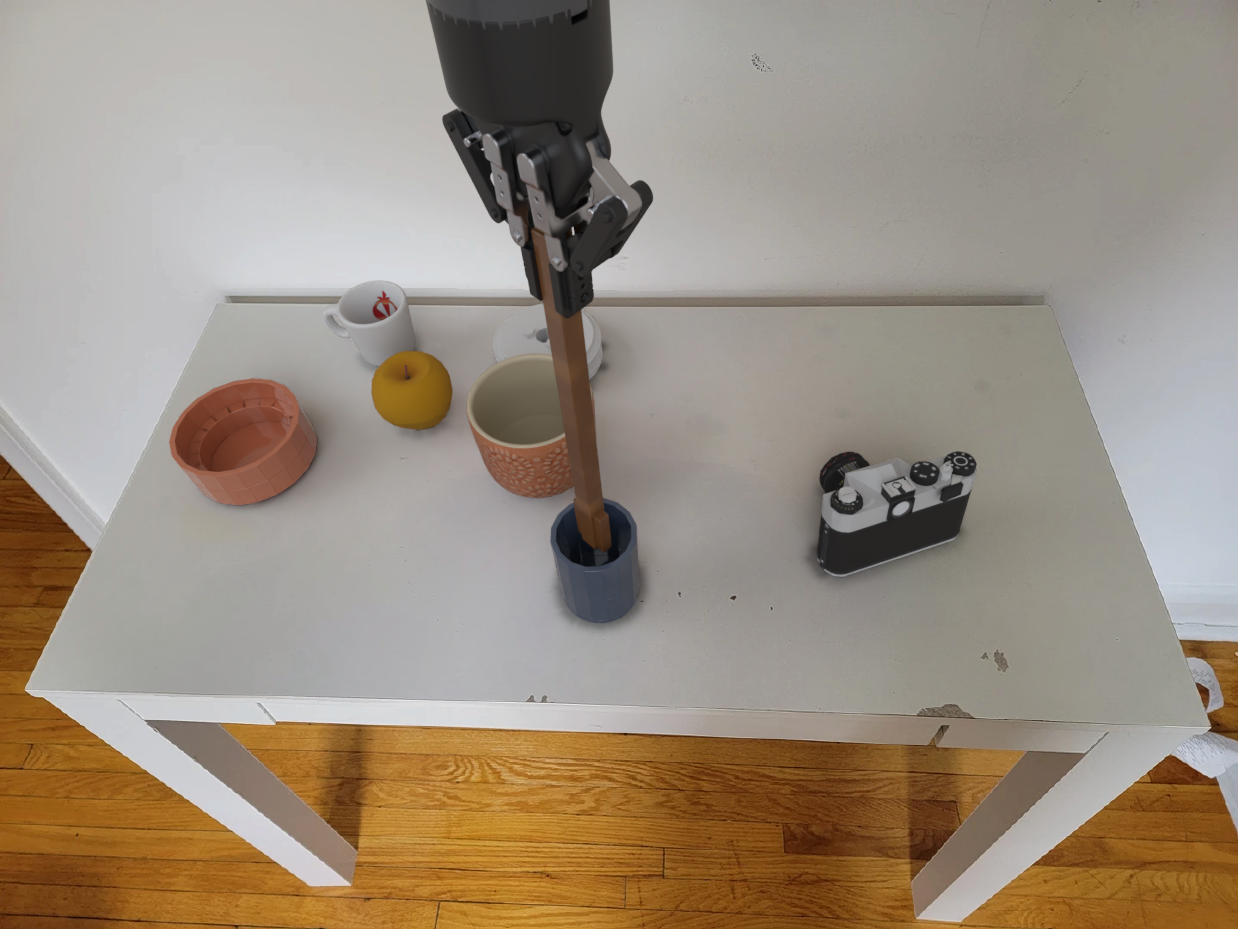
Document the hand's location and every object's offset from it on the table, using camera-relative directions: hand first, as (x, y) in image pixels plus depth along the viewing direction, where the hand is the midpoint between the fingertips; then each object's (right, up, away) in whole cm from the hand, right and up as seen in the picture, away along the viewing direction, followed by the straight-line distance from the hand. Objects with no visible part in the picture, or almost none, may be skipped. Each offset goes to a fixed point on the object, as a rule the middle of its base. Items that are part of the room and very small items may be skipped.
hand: (561, 299), depth 45 cm
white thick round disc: (-5, +3, +47) cm, 48 cm away
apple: (-19, -5, +43) cm, 47 cm away
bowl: (-37, -9, +40) cm, 55 cm away
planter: (-5, -10, +38) cm, 40 cm away
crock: (+2, -21, +29) cm, 36 cm away
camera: (+28, -15, +32) cm, 46 cm away
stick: (+1, -16, +22) cm, 27 cm away
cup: (-26, +4, +50) cm, 56 cm away
